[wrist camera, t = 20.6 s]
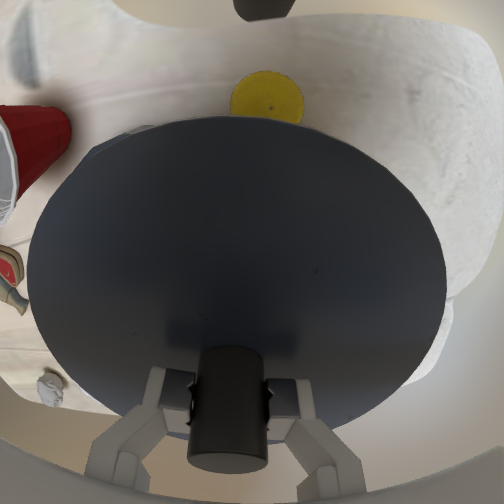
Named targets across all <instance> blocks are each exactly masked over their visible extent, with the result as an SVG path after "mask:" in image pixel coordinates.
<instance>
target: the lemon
mask: <svg viewBox="0 0 504 504" xmlns="http://www.w3.org/2000/svg"><path fill="white" fill-rule="evenodd" d="M230 110H231V114H232V115H247V116H262V117H269V118H274V119H279V120H283V121H288V122H292V123H296V124H299V123H300V121H301V118H302V116H303V111H304V101H303V96H302V94H301V92H300V89H299V88H298V87H297V85H296V84H295V83H294V82H293V81H292V80H291V79H289V78H288V77H287V76H285V75H282V74H280V73H278V72H272V71H260V72H256V73H253V74H250V75H249V76H247V77H245V78H244V79H242V80H241V81H240V82H239V84H238V85H237V86H236V87H235V89H234V91H233V93H232V96H231V101H230Z"/></svg>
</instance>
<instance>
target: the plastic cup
mask: <svg viewBox="0 0 504 504" xmlns="http://www.w3.org/2000/svg"><path fill="white" fill-rule="evenodd" d="M70 140H71V126H70V122H69V119H68V118H67V116H66V115H65V113H64V112H62V111H61V110H59V109H57V108H54V107H41V106H5V105H0V226H1V225H3V224H5V223H6V222H7V220H8V218H9V217H10V215H11V213H12V212H13V210H14V208H15V207H16V202H17V201H18V200H19V199H20V197H21V196H22V194H23V193H24V192H25V191H26V190H27V189H28V188H29V187H30V186H31V185H32V184H33V183H34V182H35V181H36V180H37V179H38V178H39V177H40V176H41V175H42V174H43V173H44V172H45V171H46V170H47V169H48V168H49V167H50V166H51V165H52V164H53V163H54V162H55V161H56V160H58V159H59V158H60V156H61V155H62V154H63V153H64V152H65V150H66V149H67V148H68V145H69V142H70Z"/></svg>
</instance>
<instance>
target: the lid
mask: <svg viewBox="0 0 504 504" xmlns="http://www.w3.org/2000/svg"><path fill="white" fill-rule="evenodd" d="M27 290H28V295H29V301H30V305H31V310H32V313H33V316H34V319H35V322H36V324H37V327H38V330H39V332H40V334H41V336H42V338H43V339H44V341H45V343H46V345H47V347H48V348H49V350H50V352H51V353H52V354H53V356H54V357H55V359H56V360H57V362H58V363H59V364H60V365H61V367H62V368H63V369H64V370H65V371H66V373H67V374H68V375H69V376H70V377H71V378H72V379H73V380H74V381H75V382H76V383H77V384H78V385H79V386H80V387H81V388H82V389H83V390H85V391H86V392H87V393H88V394H89V395H91V396H92V397H93V398H95V399H96V400H97V401H98V402H100V403H101V404H103V405H104V406H106V407H107V408H109V409H110V410H112V411H114V412H115V413H117V414H119V415H121V416H124V415H125V414H126V413H128V412H129V411H130V410H131V409H132V408H134V407H135V406H136V405H137V404H141V405H142V402H143V398H144V394H145V390H146V386H147V382H148V378H149V374H150V371H151V368H152V367H153V366H158V367H165V368H170V369H176V370H183V371H190V372H196V382H195V384H196V386H195V394H194V402H193V409H192V417H191V425H190V434H186V433H178V432H170V431H168V433H167V434H166V435H169V436H172V437H176V438H180V439H184V440H189V442H188V451H187V460H188V462H189V463H190V464H191V465H193V466H195V467H197V468H200V469H202V470H206V471H210V472H215V473H223V474H242V473H250V472H255V471H258V470H261V469H263V468H265V467H266V466H267V464H268V446H267V445H269V444H278V443H284V440H267V426H266V400H265V383H264V382H265V379H266V378H286V379H309V381H310V383H311V389H312V395H313V401H314V407H315V413H316V418H321V419H322V421H323V422H324V423H325V424H326V425H327V426H328V427H329V428H330V429H331V430H332V429H334V428H337V427H339V426H341V425H344V424H346V423H348V422H350V421H352V420H354V419H356V418H358V417H360V416H361V415H363V414H365V413H367V412H368V411H370V410H371V409H373V408H374V407H376V406H377V405H379V404H380V403H382V402H383V401H384V400H385V399H387V398H388V397H389V396H390V395H392V394H393V393H394V392H395V391H396V390H397V389H398V388H399V387H400V386H401V385H402V384H403V383H404V382H406V381H407V380H408V378H409V377H410V376H411V375H412V374H413V372H414V371H415V370H416V369H417V367H418V366H419V365H420V363H421V362H422V360H423V359H424V357H425V356H426V354H427V353H428V351H429V349H430V348H431V345H432V343H433V341H434V339H435V337H436V335H437V333H438V330H439V327H440V324H441V320H442V317H443V313H444V308H445V301H446V293H447V280H446V266H445V261H444V257H443V252H442V248H441V244H440V241H439V239H438V237H437V234H436V232H435V230H434V227H433V225H432V223H431V221H430V219H429V217H428V215H427V214H426V212H425V211H424V210H423V208H422V207H421V205H420V204H419V202H418V201H417V199H416V198H415V197H414V195H413V194H412V193H411V192H410V191H409V190H408V189H407V188H406V187H405V186H404V185H403V184H402V183H401V182H400V181H399V180H398V179H397V178H396V177H395V176H394V175H393V174H392V173H391V172H390V171H389V170H388V169H387V168H385V167H384V166H383V165H381V164H380V163H378V162H377V161H375V160H374V159H372V158H371V157H369V156H368V155H366V154H365V153H363V152H362V151H360V150H358V149H357V148H355V147H354V146H352V145H350V144H349V143H347V142H344V141H342V140H340V139H338V138H335V137H333V136H331V135H328V134H326V133H323V132H321V131H319V130H316V129H314V128H311V127H308V126H304V125H300V124H296V123H292V122H288V121H283V120H279V119H274V118H269V117H262V116H247V115H224V114H219V115H210V116H201V117H193V118H186V119H178V120H174V121H171V122H167V123H164V124H160V125H157V126H154V127H151V128H148V129H145V130H141V131H138V132H136V133H134V134H131V135H129V136H127V137H125V138H123V139H121V140H119V141H118V142H116V143H114V144H112V145H110V146H108V147H106V148H105V149H103V150H101V151H99V152H97V153H96V154H95V155H93V156H92V157H91V158H89V159H88V160H87V161H86V162H84V163H83V164H82V165H81V166H80V167H78V168H77V169H76V170H75V171H74V172H72V173H71V174H70V175H69V176H68V177H67V178H66V180H65V181H64V182H63V183H62V184H61V186H60V187H59V188H58V189H57V190H56V192H55V193H54V194H53V195H52V197H51V198H50V199H49V201H48V203H47V205H46V207H45V208H44V210H43V212H42V214H41V216H40V218H39V220H38V221H37V224H36V227H35V230H34V233H33V236H32V240H31V243H30V246H29V253H28V261H27Z"/></svg>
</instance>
